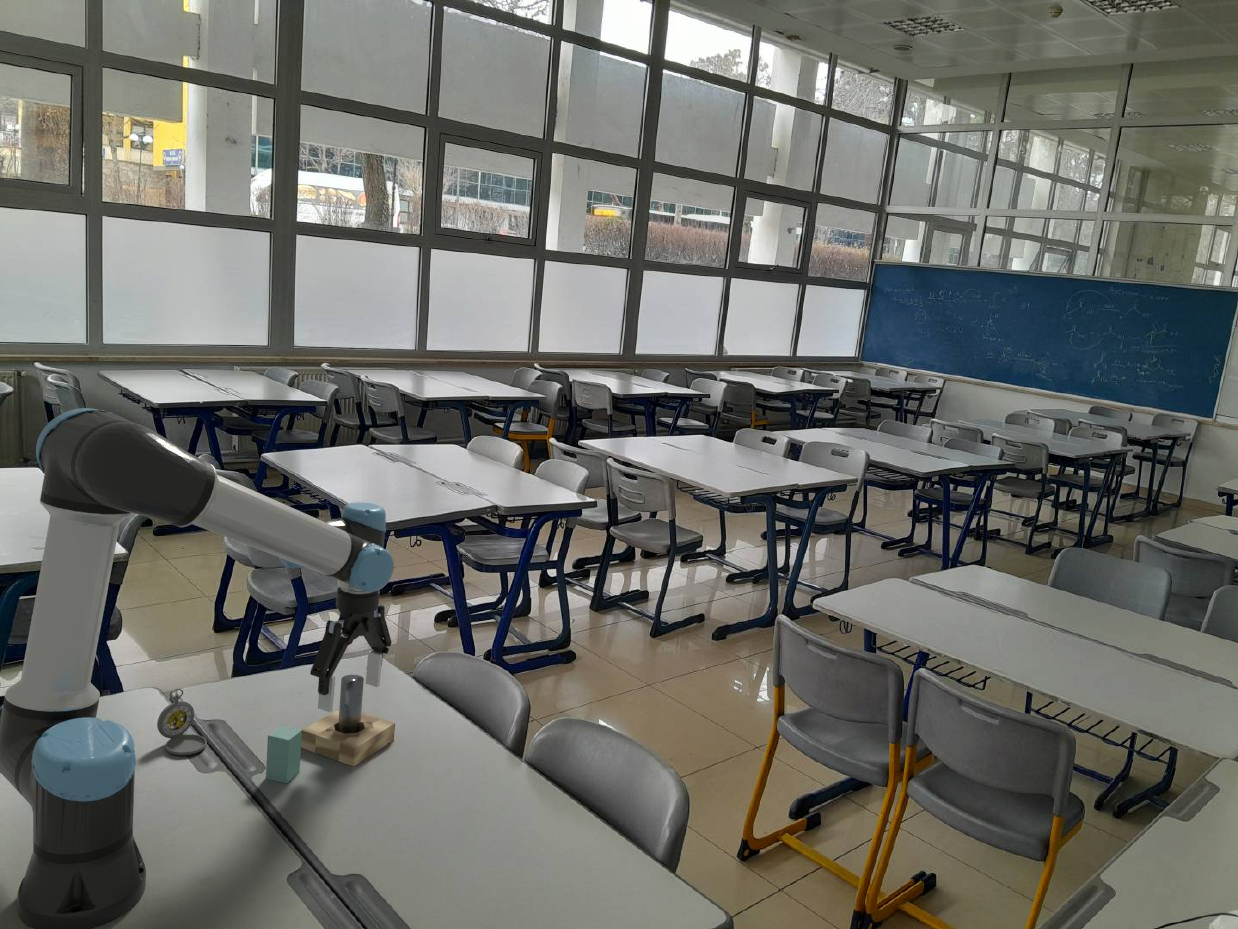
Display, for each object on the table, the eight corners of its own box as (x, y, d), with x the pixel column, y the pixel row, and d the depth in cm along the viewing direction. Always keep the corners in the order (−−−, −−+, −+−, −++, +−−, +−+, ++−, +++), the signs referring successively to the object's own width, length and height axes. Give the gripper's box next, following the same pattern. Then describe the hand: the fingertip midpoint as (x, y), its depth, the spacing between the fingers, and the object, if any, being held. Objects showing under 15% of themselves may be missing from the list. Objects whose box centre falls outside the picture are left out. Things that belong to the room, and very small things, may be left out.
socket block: (353, 766, 166) (354, 748, 165) (300, 747, 170) (301, 730, 170) (393, 740, 177) (395, 723, 176) (343, 722, 181) (344, 706, 181)
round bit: (349, 751, 171) (354, 685, 169) (332, 745, 173) (336, 680, 170) (363, 742, 175) (368, 678, 172) (346, 736, 176) (350, 672, 174)
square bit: (286, 783, 158) (288, 740, 157) (265, 778, 159) (267, 735, 158) (299, 772, 162) (301, 730, 161) (279, 767, 163) (281, 725, 162)
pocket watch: (195, 759, 162) (197, 706, 160) (148, 754, 162) (149, 701, 160) (216, 737, 170) (218, 687, 169) (171, 732, 170) (173, 681, 168)
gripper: (329, 609, 155) (320, 727, 159) (415, 577, 178) (406, 680, 182) (294, 599, 158) (286, 715, 161) (383, 568, 181) (374, 670, 184)
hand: (349, 697), depth 172 cm, fingers open, 13 cm apart
